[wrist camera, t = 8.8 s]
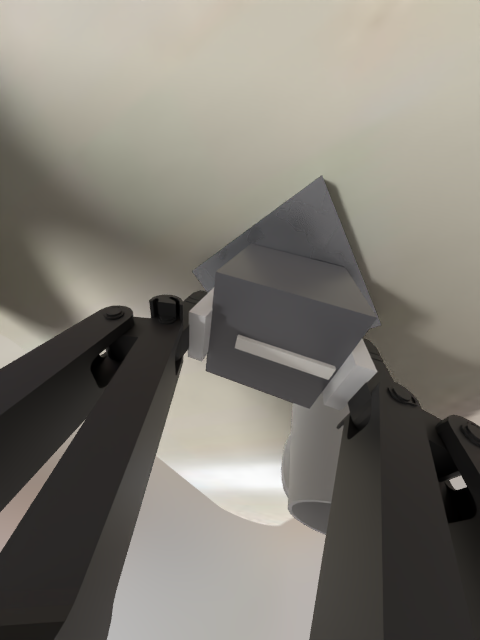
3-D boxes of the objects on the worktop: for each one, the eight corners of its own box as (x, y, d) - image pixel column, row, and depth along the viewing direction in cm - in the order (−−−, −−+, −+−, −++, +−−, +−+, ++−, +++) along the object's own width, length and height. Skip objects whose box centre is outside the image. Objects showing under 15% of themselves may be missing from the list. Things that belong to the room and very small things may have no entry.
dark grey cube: (236, 317, 15) (204, 373, 10) (251, 243, 12) (213, 273, 7) (307, 340, 15) (309, 412, 10) (345, 267, 11) (379, 320, 6)
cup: (385, 412, 18) (443, 555, 11) (309, 438, 24) (312, 542, 16) (328, 371, 17) (349, 495, 10) (264, 408, 23) (247, 504, 16)
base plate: (197, 267, 15) (164, 288, 11) (320, 177, 10) (331, 163, 7) (260, 354, 18) (249, 392, 15) (376, 317, 13) (404, 361, 10)
